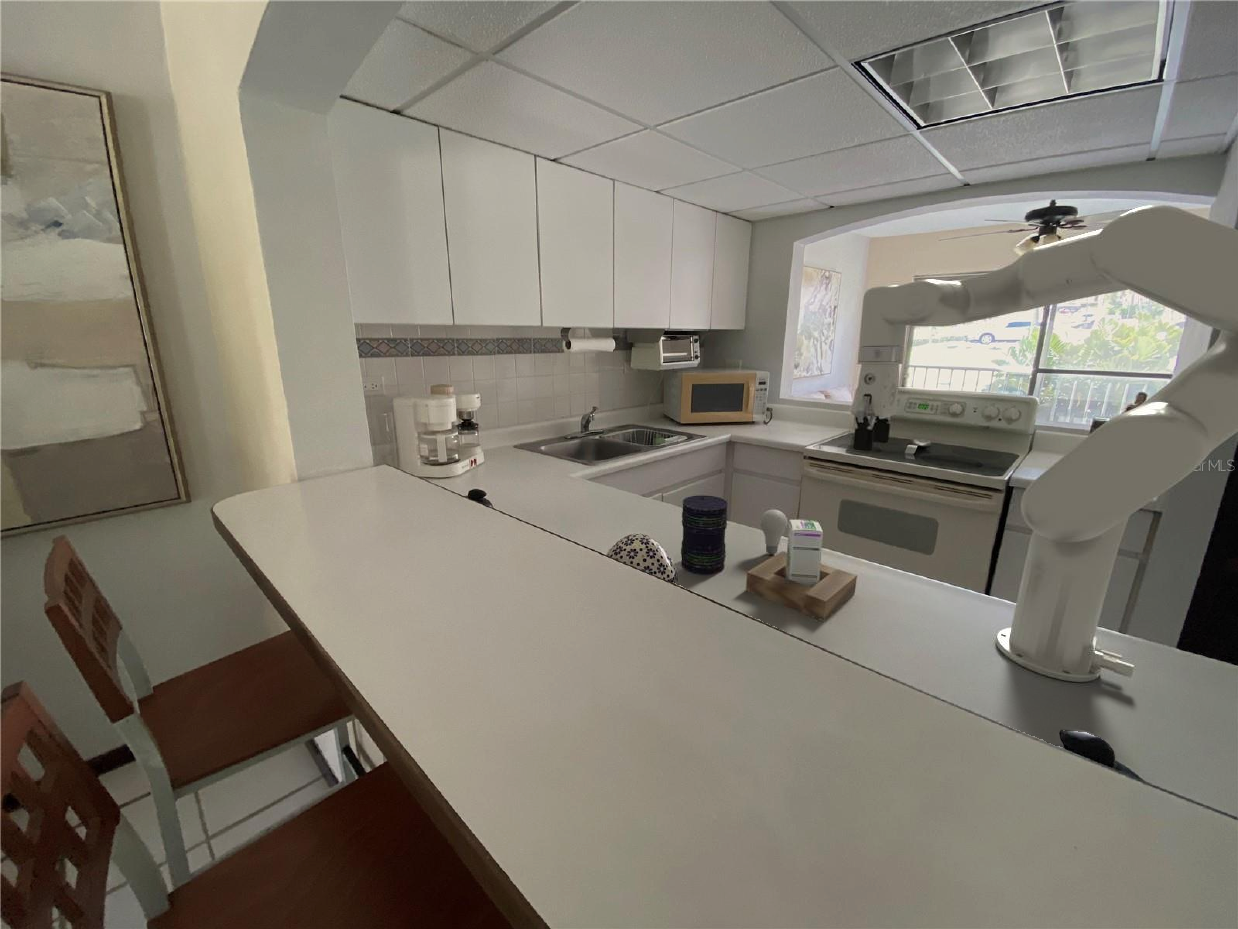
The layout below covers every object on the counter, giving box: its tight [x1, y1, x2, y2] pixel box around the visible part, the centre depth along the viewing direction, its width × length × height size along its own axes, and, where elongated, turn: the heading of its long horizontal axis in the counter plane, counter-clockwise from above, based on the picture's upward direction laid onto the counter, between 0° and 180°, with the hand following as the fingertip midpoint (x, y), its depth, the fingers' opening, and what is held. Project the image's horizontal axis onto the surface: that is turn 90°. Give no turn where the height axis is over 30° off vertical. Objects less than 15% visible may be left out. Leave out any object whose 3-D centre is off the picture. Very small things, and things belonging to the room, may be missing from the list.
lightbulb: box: [759, 509, 789, 556], centre depth 114 cm, size 6×6×11 cm
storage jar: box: [680, 495, 729, 576], centre depth 109 cm, size 10×10×15 cm
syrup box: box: [785, 519, 824, 588], centre depth 97 cm, size 6×6×14 cm
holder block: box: [745, 551, 858, 621], centre depth 98 cm, size 16×14×4 cm
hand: (871, 446), depth 96 cm, fingers open, 9 cm apart
